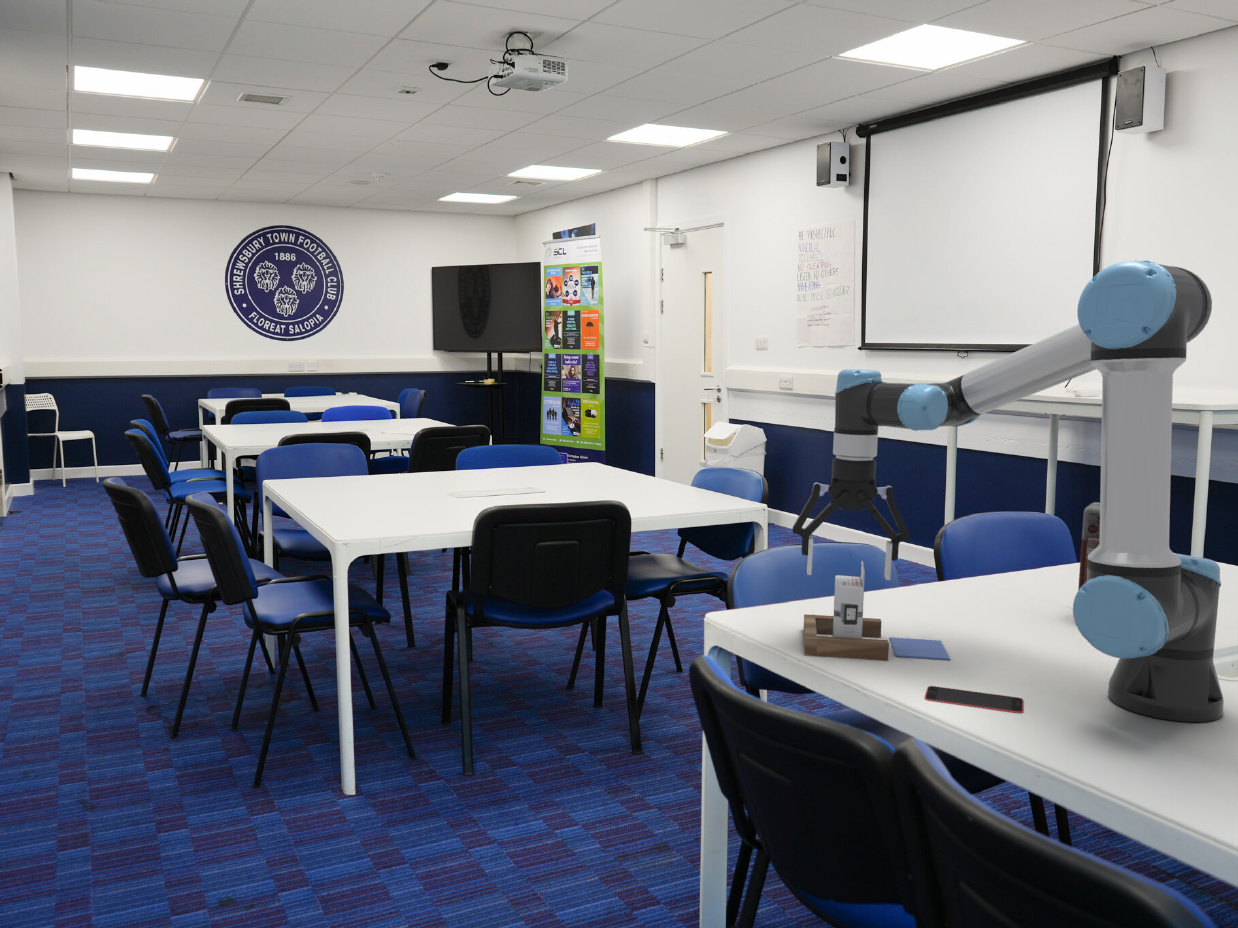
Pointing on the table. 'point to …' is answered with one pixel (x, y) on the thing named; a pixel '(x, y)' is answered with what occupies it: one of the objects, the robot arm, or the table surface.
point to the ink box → (848, 605)
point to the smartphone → (975, 699)
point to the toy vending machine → (1089, 538)
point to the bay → (843, 640)
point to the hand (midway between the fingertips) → (847, 575)
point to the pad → (919, 648)
